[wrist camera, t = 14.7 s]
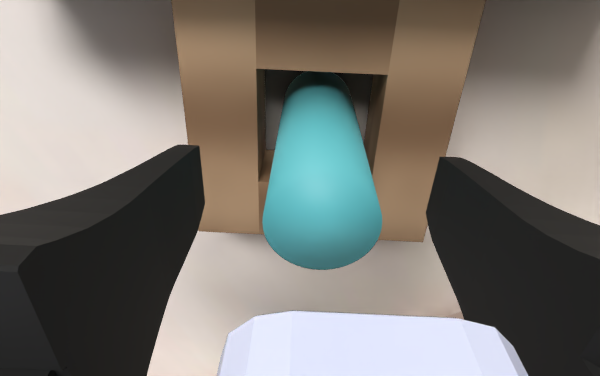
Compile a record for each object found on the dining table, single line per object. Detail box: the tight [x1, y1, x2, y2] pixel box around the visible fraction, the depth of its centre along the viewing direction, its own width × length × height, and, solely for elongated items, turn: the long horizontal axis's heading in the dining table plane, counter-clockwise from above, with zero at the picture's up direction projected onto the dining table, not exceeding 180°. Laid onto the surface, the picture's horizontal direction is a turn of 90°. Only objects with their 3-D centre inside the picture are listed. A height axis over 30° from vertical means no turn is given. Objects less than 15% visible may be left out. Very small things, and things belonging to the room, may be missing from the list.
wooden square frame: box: [171, 0, 486, 242], centre depth 16 cm, size 10×10×3 cm
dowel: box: [262, 71, 382, 270], centre depth 14 cm, size 3×3×9 cm
